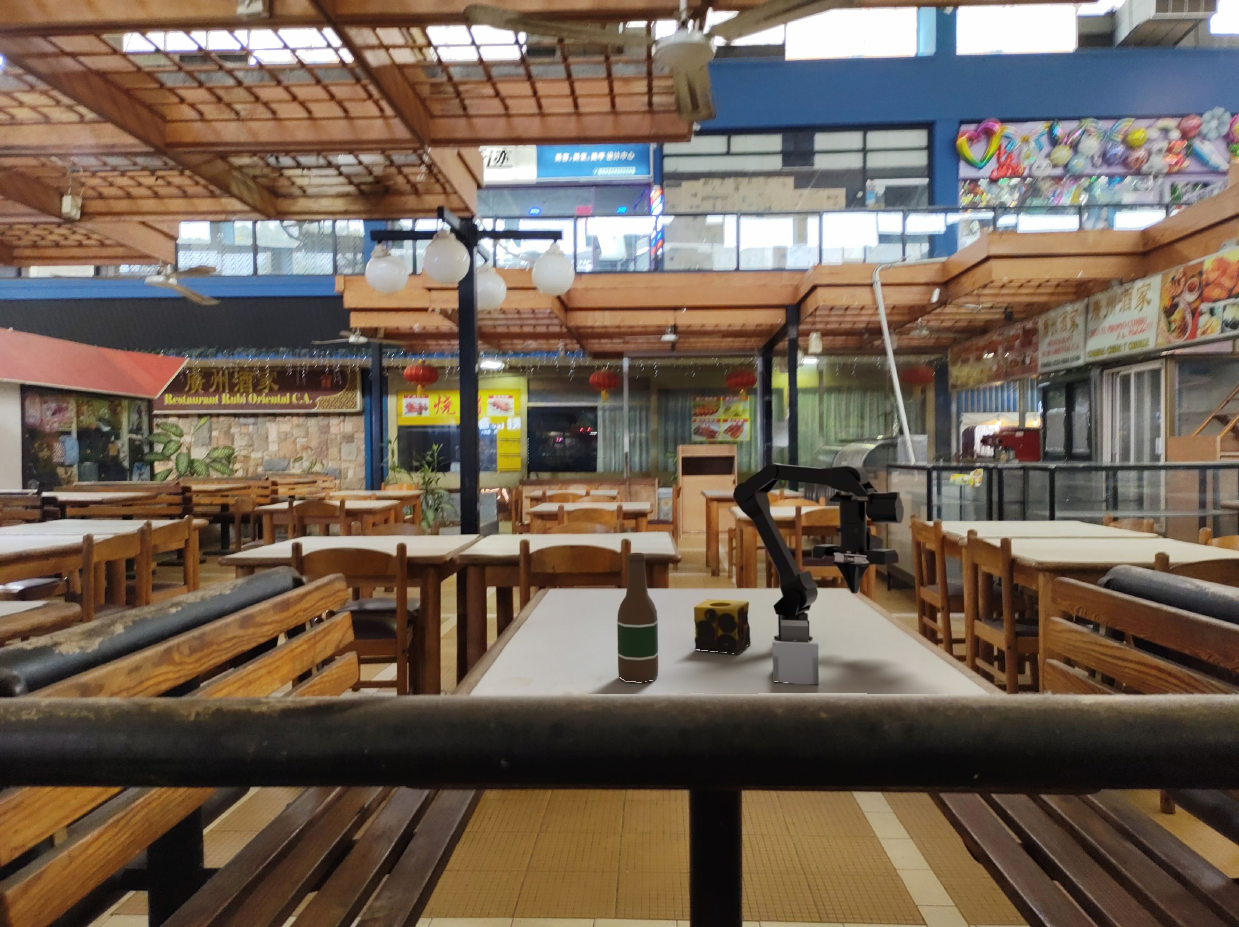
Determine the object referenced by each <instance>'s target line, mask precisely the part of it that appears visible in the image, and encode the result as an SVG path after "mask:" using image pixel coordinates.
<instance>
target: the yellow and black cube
mask: <svg viewBox="0 0 1239 927" xmlns="http://www.w3.org/2000/svg"><path fill="white" fill-rule="evenodd" d="M749 606H750V601H748V600H730V599H729V600H728V599H711V598H710V599H709V598H708V599H704V600H703V601H702V602H700V603H698V604H697V605H696V604H695V606H693V613H694V614H693V617H694V618H693V619H694V620H693V621H694V626H695V627H694V631H695V632H694V633H695V634H694V635H695V636H694V645H695V647H694V650H695V649H700V650H708V651H718V652H727V653H734V654H737V655H740V654H741V653H742V652H743V651H745V650H746V649H747V648H746V646H747V645H749V646H750V645H751V628H750V627H751V626H750V623H749V617H748V616H749ZM747 647H748V646H747ZM745 648H746V649H745ZM744 649H745V650H744ZM742 650H743V651H742ZM741 651H742V652H741ZM740 652H741V653H740ZM739 653H740V654H739Z"/></svg>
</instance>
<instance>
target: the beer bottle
mask: <svg viewBox="0 0 1239 927" xmlns="http://www.w3.org/2000/svg"><path fill="white" fill-rule="evenodd" d="M626 556H627V557H626V560H627V585H626V594H625V596H624V598H623V600H622V601H621V603H620V605H619V608H618V611H617V619H616V620H617V621H616V622H617V623H616V626H617V672H618V678H619V677H621V678H622V679H624V680H625V681H636V682H645V681H649V680H654V679H655V678H656V677H657V678H658V677H659V637H658V636H659V629H658V628H659V626H658V625H659V624H658V611H657V608H656V605H655V602H654V601H653V599H652V598H651V596H650V595H649V592H648V584H647V574H646V560H647V556H646V553H643V552H630V553H628V554H627V555H626ZM657 678H656V679H657ZM656 679H655V680H656ZM655 680H654V681H655Z"/></svg>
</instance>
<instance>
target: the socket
mask: <svg viewBox="0 0 1239 927" xmlns="http://www.w3.org/2000/svg"><path fill="white" fill-rule="evenodd" d="M819 675H820V674H819V643H818V642H810V641H809V642H799V641H792V640H791V642H783V641H781V640H779V641H777V640H772V679H773V680H772V682H773V681H778V682H788V683H787V684H789V683H793V685H809V684H819V685H820V680H819V679H820V676H819Z"/></svg>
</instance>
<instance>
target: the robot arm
mask: <svg viewBox="0 0 1239 927" xmlns="http://www.w3.org/2000/svg"><path fill="white" fill-rule="evenodd" d="M780 481H788V482H796V483H797V482H798V483H804V484H805V483H806V484H815V485H822V486H825V487H828V488H830V489H834V490H837V491H835V493H834V495H832V496H831V497H830V498H829V499H828V501H829V502H830V503H838V520H839V521H838V523H839V526H837V527H836V526H835V533H839V544H829V543H825V544H815V545H814V546H813V548H812V550H811V557H812V559H820V560H821V559H822V560H823V559H824V558H825V557H834V561H832V564H834V565H836V567H837V568H838V570H839V571H840V573H841V575H842V577H843V579H844V581H845V583H846V584H847V587H848V589H849V591H850V592H851V594H855V595H856V594H859V593H858V592H859V589H860V587H861V583H862V580H863V577H864V576H865V573H866V571H867V570H868V569H869V567H870V566H873V565H877V566H879V565H880V566H885V565H892V564H898V563H899V560H900V559H899V554H898V552H897V551H896V549H892V548H883V546H884V539H883V538H881V537H879V536H877V535H875V534H872V529H871V526H867V518H868V520H871V522H872V523H873V524H900V525H901V524H902V522H903V520H904V512H905V510H904V506H903V501H902V499H901V495H900V491H889V492H879V491H878V490H877V488H875V486H874V485H873V484H872V482H871V481H870V480H869V474H868V472H867V470H866V469H865V468H864V467H862V466H859V465H844V466H843V465H842V466H834V467H833V466H830V467H817V466H816V467H813V466H806V465H794V464H793V465H792V464H783V463H780V462H768V463H767V464H766V465H765V466H764V467H763V468H762V469H761V470H759V471H757V472H756V473H755V474H753V475H752V476H750V477H749V478H747V480H745V481H744V482H740V483H738V484H737V485H736V486H735V487H734V490H733V493H732V498H733V500H734V502H735V503H736V505H737V506H738V507H739V509H740V511H741V512H743V514H745V515H746V517H748V518H749V519H750V520H751V521H752V523H753V525H754V526H755V529H756V531H757V533H758V535H759V537H760V539H761V541H762V543H763V545H764V547H765V549H766V551H767V553H768V555H769V557H770V559H771V562H773V565H774V568H775V569H776V571H777V573H778V576H779V589H780V592H781V596H782V597H781V598H780V599H778V601H776V602H775V604H773V609H774V612H775V615H777V617H778V618H777V620H778V621H777V622H778V623H777V624H778V625H777V626H778V632H777V633H778V635H777V634H776V635H774V636H773V638H774V639H775V638H776V639H777V640H779V641H781V620H797V621H808V636H809V641H810V640H813V638H814V637H813V636H811V635H810V620H809V614H808V611H810V610H811V607H812V604H814V603H815V602H816V600H817V598H818V595H819V592H818V589H817V587H818V586H819V584H818V583H816V581H815V580H814V578H813V574H812V572H811V570H809V569H808V570H805V571H803V570H802V569H801V568H800V567H799V565H797V562H796V560H795V559H794V557H793V555H792V553H791V551H790V548H789V546H788V545H787V542H786V541H785V539H784V537H783V535H782V533H781V531H780V529H779V527H778V525H777V524H776V521H775V519H774V518H773V516H772V513H771V502H770V498H769V495H768V494H769V493H770V492H771V491H773V489H774V488H775V487H776V485H777V484H778V483H779V482H780ZM843 492H844V493H850V494H844V493H843ZM851 493H852V494H851ZM859 497H860V498H859ZM862 497H863V499H862ZM866 497H867V499H866ZM776 639H775V640H776Z"/></svg>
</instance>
